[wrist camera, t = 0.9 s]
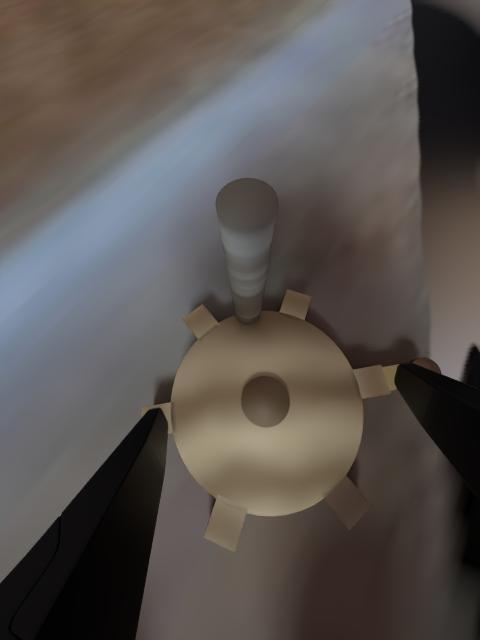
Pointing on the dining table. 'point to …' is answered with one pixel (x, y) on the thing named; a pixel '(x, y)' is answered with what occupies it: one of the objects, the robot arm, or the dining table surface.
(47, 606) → the robot arm
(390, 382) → the pointer
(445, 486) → the dining table surface
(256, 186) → the index wheel
